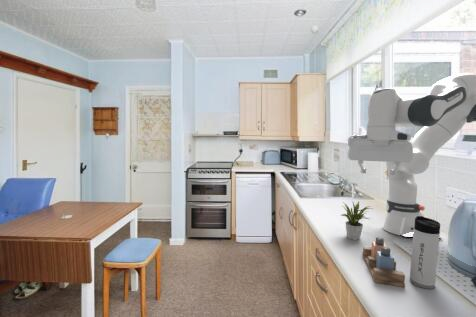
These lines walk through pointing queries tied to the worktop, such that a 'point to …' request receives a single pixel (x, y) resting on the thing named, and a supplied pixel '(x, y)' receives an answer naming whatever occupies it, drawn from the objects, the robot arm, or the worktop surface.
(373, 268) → the slotted wooden block
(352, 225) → the house plant
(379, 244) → the pink square bottle
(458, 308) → the worktop surface
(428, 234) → the travel mug
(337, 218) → the worktop surface
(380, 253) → the slate plug
